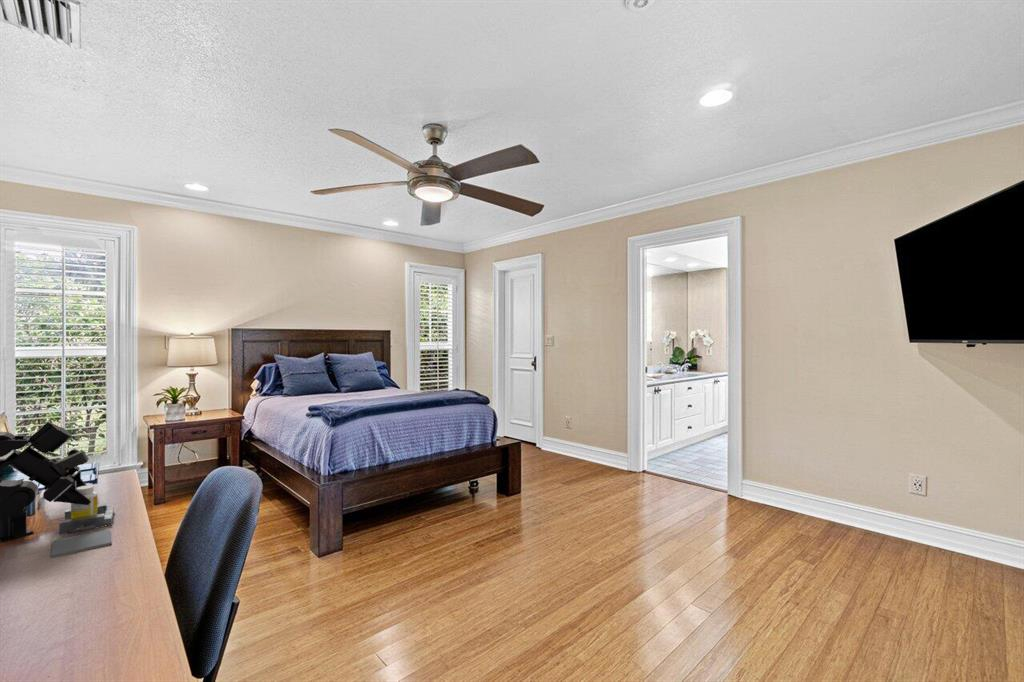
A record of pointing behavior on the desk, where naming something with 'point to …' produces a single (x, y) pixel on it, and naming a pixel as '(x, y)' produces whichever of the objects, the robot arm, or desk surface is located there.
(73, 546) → the slate pad
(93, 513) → the supplement bottle
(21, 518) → the robot arm
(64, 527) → the vise
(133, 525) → the desk surface
